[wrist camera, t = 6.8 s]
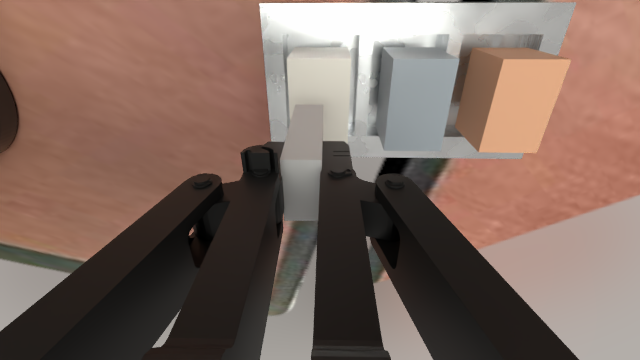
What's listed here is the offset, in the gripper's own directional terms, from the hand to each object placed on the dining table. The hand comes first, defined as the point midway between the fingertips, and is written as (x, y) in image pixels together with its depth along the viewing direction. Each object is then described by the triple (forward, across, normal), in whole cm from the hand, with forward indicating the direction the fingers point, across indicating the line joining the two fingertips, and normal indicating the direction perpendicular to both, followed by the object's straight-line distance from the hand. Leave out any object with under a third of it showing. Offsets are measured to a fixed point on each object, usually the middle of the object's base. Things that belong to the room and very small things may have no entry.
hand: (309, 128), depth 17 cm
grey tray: (+13, +7, 0) cm, 15 cm away
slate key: (+9, +7, 0) cm, 12 cm away
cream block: (+9, 0, 0) cm, 9 cm away
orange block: (+9, +14, 0) cm, 16 cm away
